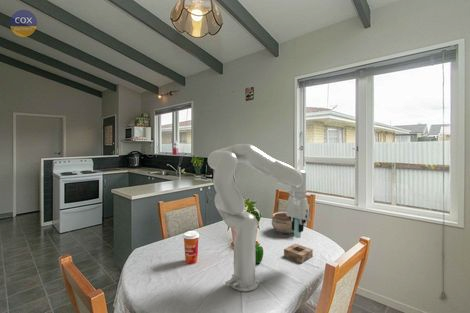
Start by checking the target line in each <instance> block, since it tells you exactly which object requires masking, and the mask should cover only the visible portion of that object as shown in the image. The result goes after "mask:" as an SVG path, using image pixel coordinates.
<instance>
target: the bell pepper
mask: <svg viewBox="0 0 470 313" xmlns="http://www.w3.org/2000/svg"><path fill="white" fill-rule="evenodd" d="M260 245H261V243H258V242H256V243H255V265H256V264H260V263H261V262H262V261H263V257H264V247H263V246H262V245H261V246H260Z"/></svg>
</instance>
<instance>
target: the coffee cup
mask: <svg viewBox="0 0 470 313" xmlns="http://www.w3.org/2000/svg"><path fill="white" fill-rule="evenodd" d="M182 237H183V244H184V260H185V263H186V264H187V265H194V264H196V263H197V262H198V256H199V255H198V252H199V251H198V250H199V237H200V234H199V232H198V231H195V230H189V231H185V232H184V233H183V235H182Z"/></svg>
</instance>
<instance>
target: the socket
mask: <svg viewBox="0 0 470 313" xmlns="http://www.w3.org/2000/svg"><path fill="white" fill-rule="evenodd" d="M313 252H314V249H312V248H310V247H306V246H303V245H300V244H299V243H298V244H297V243H293V244H291V245H290V246H287V247H286V248H283V257H285V258H288V259H290V260H292V261H295V262H297V263H299V264H303V263H305V262H306V261H308V260H310V259H311V258H313Z"/></svg>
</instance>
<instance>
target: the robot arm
mask: <svg viewBox="0 0 470 313" xmlns="http://www.w3.org/2000/svg"><path fill="white" fill-rule="evenodd" d="M238 163H241V164H242V163H243V164H244V165H246V166H249V167H250V168H252V169H254V170H255V171H257V172H259V173H260V174H262V175H265V176H268V177H272V178H274V179H275V182H276V183H277V184H278V185H281V186H285V187H289V188H290V189H289V191H288V194H290V195H289V196H288V199H287V203H286V212H287V213H286V215H287V216H288V217H289V219H290V220H291V222H292V230H294V218H298V219H299V221H300V224H299V231H298V232H301V233H302V232H304V229H305V228H304V224H305V223H307V222H309V221H311V218H310V215H309V203H308V197H307V190H306V189H307V172H306V171H305V170H302V169H296V168H295V167H293V166H291V165H289V164H287V163H285V162H282V161H281V160H278V159H276V158H273V157H272V156H270V155H269V154H267V153H265V152H264V151H262V150H261V149H259V148H257V147H256V146H255V145H253V144H249V143H236V144H234V145H230V146H226V147H223V148H220V149H219V148H218V149H216V150H213V151H211V153H210V154H209V155H208V157H207V164H208V166H209V167H210V168H211V169H213V170H214V173H213V179H212V184H213V187H214V190H215V192H216V194H215V196H214V206H215V208H216V210H217V211H218V213H219V214H220V216H221V218H222V220H223V221H224V223H225V225H226V226H227V227H229V228H230V229H231V230H234V231H235V233H236V234H235V237H234V241H233V274H231V278H230V279H229V280H227V281H225V282H224V283H225V286H226V287H230V286H231V287H232V289H234V290H235V291H239V292H251V291H254V290H256V289H257V288H258V287H259V285H260V281H259V280H260V279H259V278H258V277H257V276H256V264H255V244H257V242H256V241H257V240H256V238H257V233H258V228H259V224H258V223H259V222H258V219H257V218H256V216H254V214H252V213H250V212H249V211H246V210H245V208H246V204H245V199H244V198H243V196H242V194H241V192H240V190H239V189H238V187H237V185H236V183H235V180H234V175H235V172H236V169H237V167H238Z"/></svg>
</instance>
